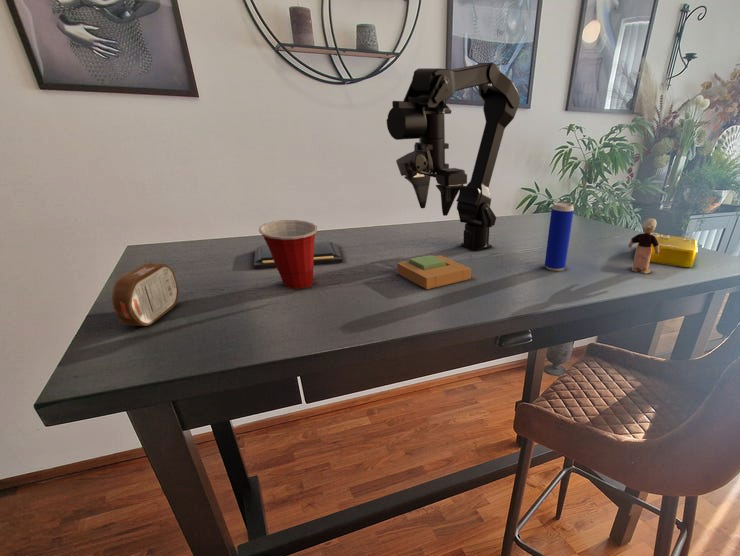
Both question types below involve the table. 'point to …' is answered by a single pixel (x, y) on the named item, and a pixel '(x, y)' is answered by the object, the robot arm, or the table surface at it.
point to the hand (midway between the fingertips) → (433, 211)
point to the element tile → (674, 250)
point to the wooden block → (435, 273)
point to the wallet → (322, 254)
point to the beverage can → (559, 236)
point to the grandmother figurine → (644, 246)
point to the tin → (145, 294)
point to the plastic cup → (292, 250)
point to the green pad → (427, 262)
